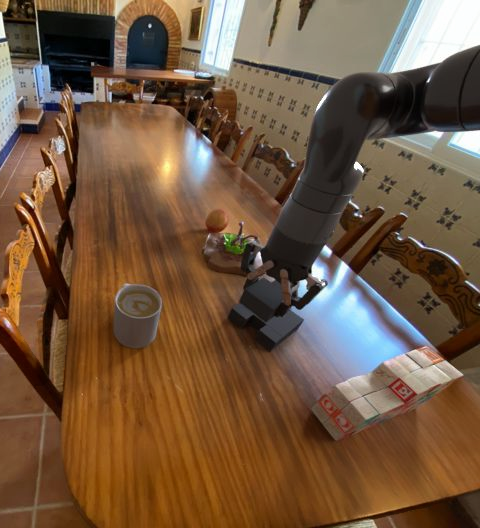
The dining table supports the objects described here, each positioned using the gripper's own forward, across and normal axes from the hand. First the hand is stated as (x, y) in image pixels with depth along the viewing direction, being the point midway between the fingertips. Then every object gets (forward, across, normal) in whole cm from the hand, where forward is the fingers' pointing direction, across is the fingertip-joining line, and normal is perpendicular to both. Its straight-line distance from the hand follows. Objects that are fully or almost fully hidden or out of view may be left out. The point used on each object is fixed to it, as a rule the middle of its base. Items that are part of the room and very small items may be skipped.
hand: (262, 303), depth 56 cm
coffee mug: (+16, -19, -14) cm, 29 cm away
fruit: (+16, -36, +35) cm, 53 cm away
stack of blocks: (+16, +22, +10) cm, 29 cm away
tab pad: (+1, 0, +1) cm, 1 cm away
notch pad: (+16, -2, +12) cm, 20 cm away
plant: (+16, -24, +28) cm, 40 cm away
